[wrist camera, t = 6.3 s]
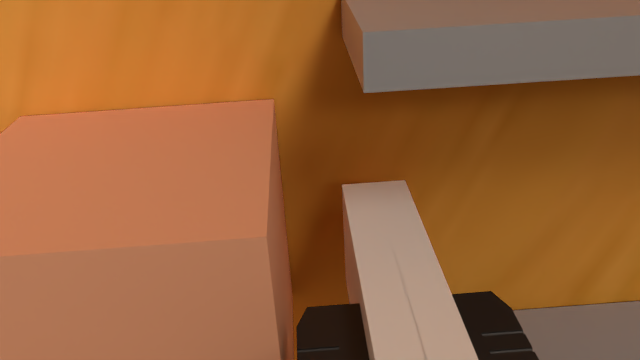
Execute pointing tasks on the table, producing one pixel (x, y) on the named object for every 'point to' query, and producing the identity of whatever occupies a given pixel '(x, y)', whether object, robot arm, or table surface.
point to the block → (145, 235)
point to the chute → (507, 68)
